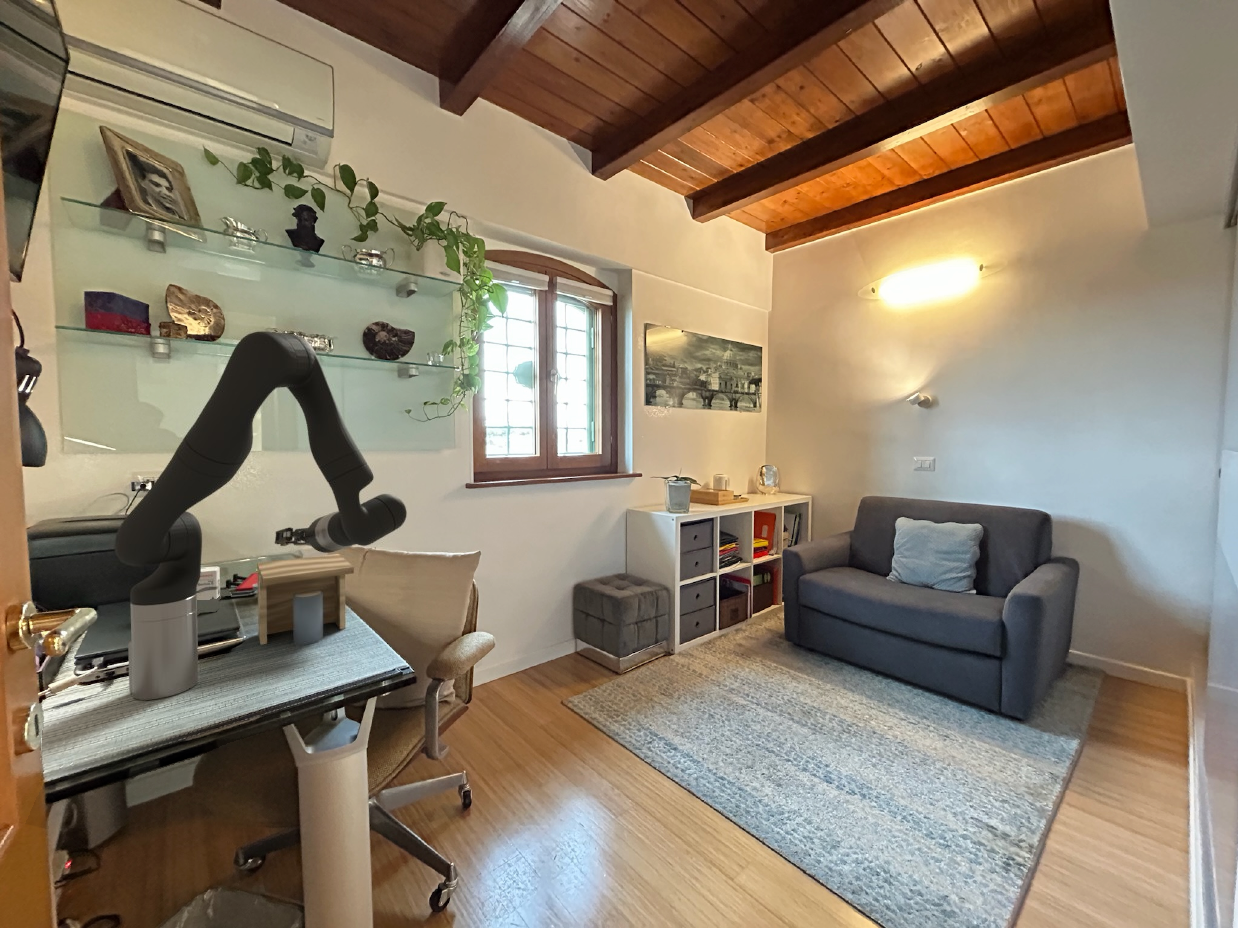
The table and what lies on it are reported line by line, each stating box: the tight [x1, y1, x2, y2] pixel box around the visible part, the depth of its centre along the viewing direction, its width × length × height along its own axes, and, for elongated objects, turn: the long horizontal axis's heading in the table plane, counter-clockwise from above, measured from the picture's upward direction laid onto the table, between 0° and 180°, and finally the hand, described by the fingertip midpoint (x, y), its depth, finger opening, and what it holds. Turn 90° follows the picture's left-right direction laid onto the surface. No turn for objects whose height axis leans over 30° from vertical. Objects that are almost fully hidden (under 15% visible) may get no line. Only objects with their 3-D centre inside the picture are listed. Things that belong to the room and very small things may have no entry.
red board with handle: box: [225, 572, 258, 597], centre depth 166 cm, size 30×3×15 cm
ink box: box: [196, 566, 221, 600], centre depth 139 cm, size 9×5×12 cm, turn 120°
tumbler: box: [292, 590, 324, 646], centre depth 120 cm, size 6×6×11 cm
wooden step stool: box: [256, 553, 355, 645], centre depth 121 cm, size 18×18×18 cm
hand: (304, 541), depth 111 cm, fingers open, 8 cm apart
